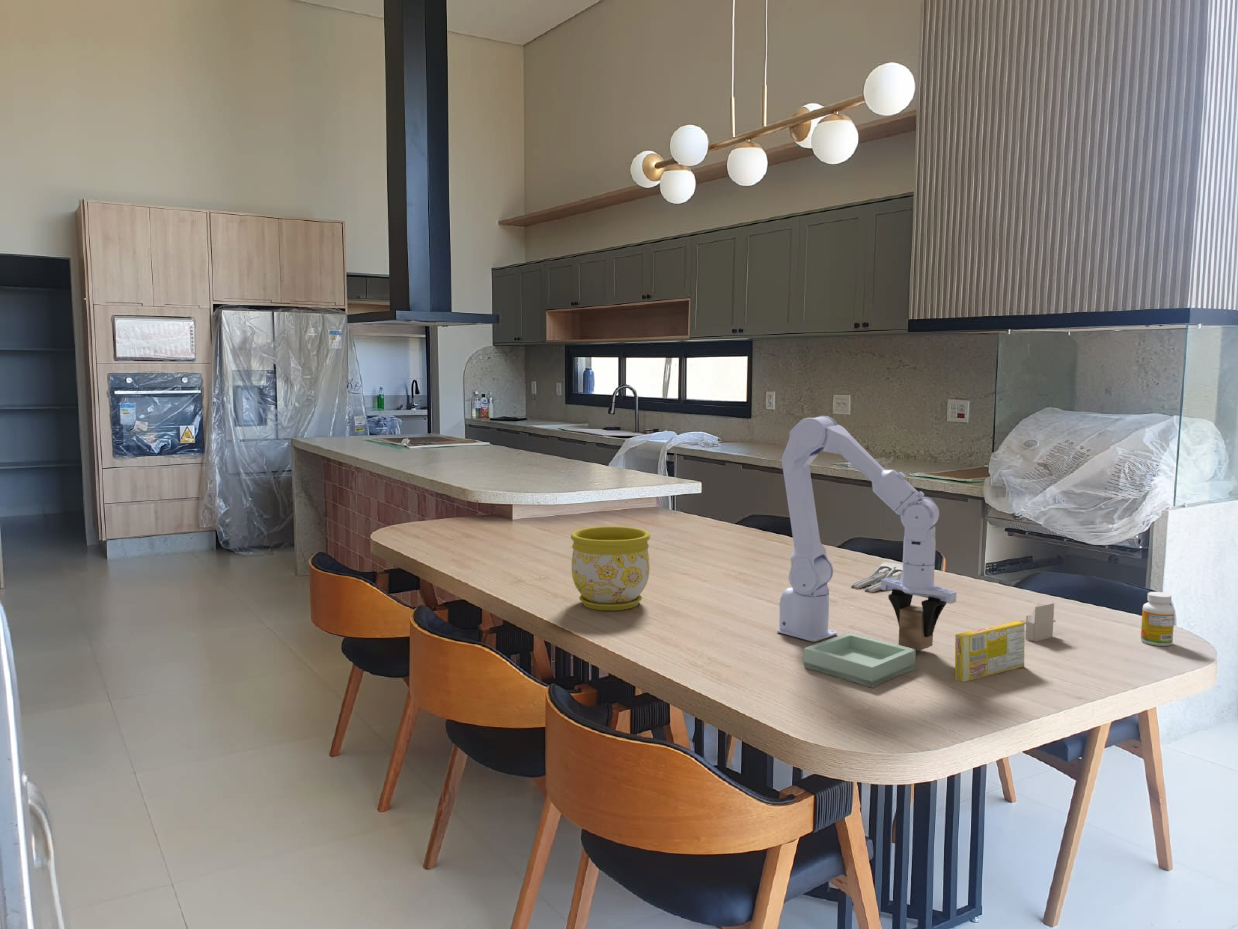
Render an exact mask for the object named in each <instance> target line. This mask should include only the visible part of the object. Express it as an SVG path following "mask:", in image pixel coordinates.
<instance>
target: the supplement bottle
mask: <svg viewBox="0 0 1238 929" xmlns="http://www.w3.org/2000/svg"><path fill="white" fill-rule="evenodd" d="M1146 599H1147V601H1148V602H1146V603H1144V604H1143V605H1142V610H1141V611H1142V614H1141V626H1140V627H1141V629H1140V641H1141V642H1143V643H1145V644H1147V645H1149V646H1157V647H1169V646H1172V645H1173V641H1174V625H1175V612H1176V611H1175V608H1174V607H1173V606H1172V605H1171V603H1172V595H1171V594H1170V593H1167V592H1162V591H1150V592H1147V598H1146Z"/></svg>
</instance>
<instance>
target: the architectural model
mask: <svg viewBox="0 0 1238 929" xmlns="http://www.w3.org/2000/svg"><path fill="white" fill-rule="evenodd" d="M1054 616H1055V603H1054V602H1052V603H1048V604H1047V603H1042V602H1038V603H1037V604H1036V606H1035V607H1034V609H1033V610H1032V612H1031V614H1030V615H1026V617H1025V618H1026V619H1024V620H1020V621H1019V622H1024V623H1025V624H1024V625H1025V640H1028V641H1031V642H1036V641H1042V640H1046V639H1051V638H1053V632H1054V623H1056V621H1057V620H1056V619H1054Z"/></svg>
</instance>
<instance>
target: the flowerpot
mask: <svg viewBox="0 0 1238 929" xmlns="http://www.w3.org/2000/svg"><path fill="white" fill-rule="evenodd" d="M570 538H571V540H572V541H573V544H572V556H571V576H572V581H573V583H574V585H575V588H576V589H577V591H578V592H579V594H581V595H580V596H578V599H579V600H580V602H582V604H583V605H584V606H585V607H586V608H588V609H591V610H595V609H597V611H603V610H617V611H624V610H623V609H625V610H629V608H630V609H632V608H635V607H636V606H638V604H639V602H641V600H642V599H643V597H642V595H641V594H642V593H643V591H644V589H645V588H646V586H647V584H648V581H649V578H650V555H649V547H650V546H649V543H648V541H649V540H650V538H651V534H650V533H649V531H647V530H645V529H642V528H636V527H630V526H611V525H609V526H594V527H593V526H591V527H586V528H585V527H584V528H579V529H576V530H574V531H573V532H571V534H570Z"/></svg>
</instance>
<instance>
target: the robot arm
mask: <svg viewBox="0 0 1238 929" xmlns="http://www.w3.org/2000/svg"><path fill="white" fill-rule="evenodd" d="M821 452H824V453H829V454H836V455H840V456H842V458H844V459H845V460H846V461H847V462H849V463H850V464H851V465H852V466H853V467H854V468H856V469H857V470H858V471H859V472H860V473H862V475H864V476H865V477H866V478H867V479H868V480H870V481H871V485H872V493H874V494H875V495H876V496H877V497H878V498H880V500H881V501H882V502H883V503H885V504H886V505H887V506H888V507H889V508H890V509H891V510H892V511H893V512H894V513H895V514H896V515H898V516H900V522H901V524H902V526H903V528H904V537H903V547H902V548H903V549H902V550H903V552H902V564H903V571H902V580H896V579H889V578H885V579H882V580H881V589H880V590H883V591H887V590H889V591H891V592H890V593H889V594H888V600H889V602H890V603H891V605H892V607H893V611H894V613H895V616H896V619H897V624H898V625H899V620H900V609H902V608H905V607H908V606H911V605H912V604H911V603H912V600H913V596H917V597H922V598H927V599H925V600H922V601H921V607H922V608H923V614H924V637H930V636H932V635H933V636H934V630H935V628H936V624H937V621H938V620H939V617H940V615H941V613H942V611H943V610H944V608H945V607H946V605H947V604H948V605H949V604H950V605H951V604H955V603H956V602H957V591H953V590H949V589H947V588H943V587H940V586H937V585H935V564H936V563H935V562H936V561H935V560H936V542H937V541H936V526H935V524H936V523H937V522H938V520H939V519H940V510H939V507H938V505H937V504H936V503H935V501H934V499H932V498H930V497H927V496H925V493H924V492H923V491H922V490H920V491H918V490H917V489H916V488H915V487H913V485H911V484H910V483H909V481H907V480H906V477H907V476H906V474H905V473H903V472H902V471H899V472H898V471H896V470H895V469H885V468H884V467H883V466H882V465H881V464H880V463H879V462H878V461H877V460H876V459H875V458H874V457H873V456H872V455H871V454H870V453H869V452H868V451H867V450H866V449H865V447H863V446H862V445H861V444H860V443H859V442H858V441H857V440H856V439H855V438H854V437H853V435H851V434H850V432H849V431H848V430H847V429H846V428H845V427H843V426H842V425H840V424H838V423H837V421H836V420H835V419H834V418H832V417H830V416H827V415H819V416H816V417H806V418H803V419H801V420H800V421H799V422H798V423H797V424H795V426H794V427H793V428H792V429H790V431H789V439H788V440H787V444H786V446H785V449H784V452H783V454H782V458H781V466H782V471H783V472H782V473H783V478H784V486H785V492H786V501H787V507H788V513H789V520H790V526H791V534H792V541H793V549H792V552H791V555H790V570H789V573H788V581H789V582H788V583H789V585H790V587H787V588H785V590H783V591H782V593H781V596H780V600H779V624H778V628H777V629H776V632H777V633H778V634H779V633H780V634H783V635H786V636H791V637H794V638H796V639H797V638H798V639H801V640H806V641H809V642H813V643H817V642H818V641H822V640H824V639H828V638H830V637H833V636H836V635H838V632H837V631H835V630H831V629H829V614H830V610H829V609H830V589H829V586H828V583H829V582H830V581H831V580H832V578H833V576H834V567H833V564H832V563H831V561H830V559H829V557H828V556H827V550H826V548H825V546H824V545H823V543H822V542H821V537H820V530H819V523H818V517H817V510H816V509H817V508H816V504H815V502H816V501H815V496H814V495H815V494H814V489H813V482H812V476H811V470H810V465H811V464H812V463H813V461H814V460H815V459H816V458H817V457H818V455H819V454H820V453H821Z"/></svg>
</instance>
